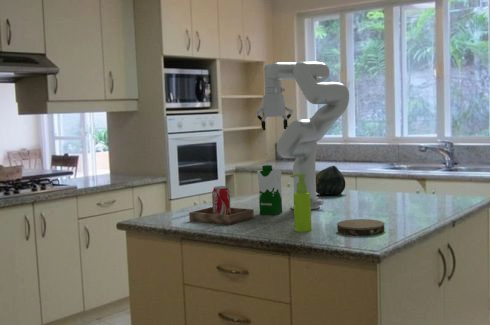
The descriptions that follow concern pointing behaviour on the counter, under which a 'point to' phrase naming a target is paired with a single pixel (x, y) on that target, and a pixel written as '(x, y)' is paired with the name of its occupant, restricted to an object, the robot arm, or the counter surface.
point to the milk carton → (270, 190)
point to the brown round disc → (360, 227)
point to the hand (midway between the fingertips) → (274, 129)
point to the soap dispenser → (302, 206)
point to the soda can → (221, 200)
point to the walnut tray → (221, 216)
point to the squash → (330, 181)
